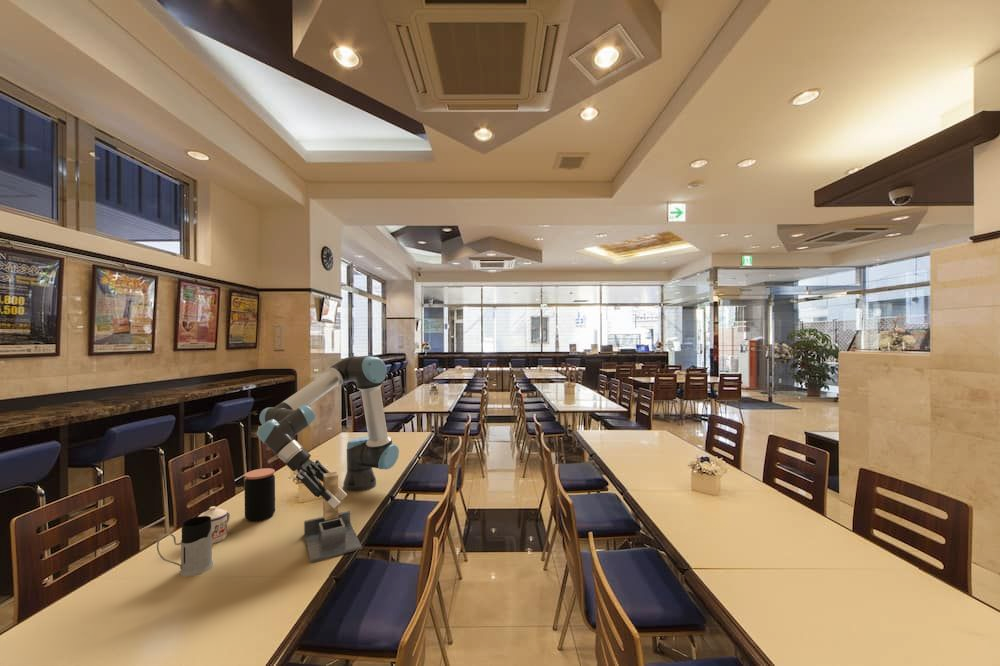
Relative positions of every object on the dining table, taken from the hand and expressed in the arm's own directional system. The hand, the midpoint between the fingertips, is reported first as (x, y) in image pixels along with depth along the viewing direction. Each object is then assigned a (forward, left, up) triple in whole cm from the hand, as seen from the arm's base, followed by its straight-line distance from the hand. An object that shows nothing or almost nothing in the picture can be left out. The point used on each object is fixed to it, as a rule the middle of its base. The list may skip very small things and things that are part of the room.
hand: (340, 501), depth 144 cm
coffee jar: (+25, -39, -15) cm, 48 cm away
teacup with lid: (+39, -28, -15) cm, 50 cm away
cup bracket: (+3, -2, -14) cm, 15 cm away
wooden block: (+3, -2, -5) cm, 7 cm away
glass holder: (+45, -6, -15) cm, 47 cm away
